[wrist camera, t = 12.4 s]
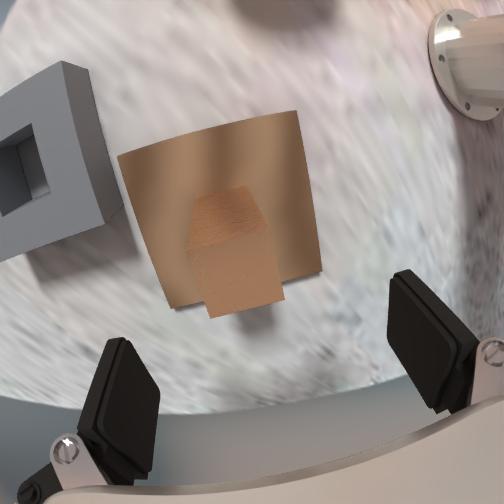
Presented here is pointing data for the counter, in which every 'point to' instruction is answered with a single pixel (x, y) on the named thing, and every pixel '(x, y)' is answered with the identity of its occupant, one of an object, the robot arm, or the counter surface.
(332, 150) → the counter surface
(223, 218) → the copper peg
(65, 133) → the socket block
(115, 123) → the counter surface
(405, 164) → the counter surface
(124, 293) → the counter surface
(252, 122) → the walnut mat
